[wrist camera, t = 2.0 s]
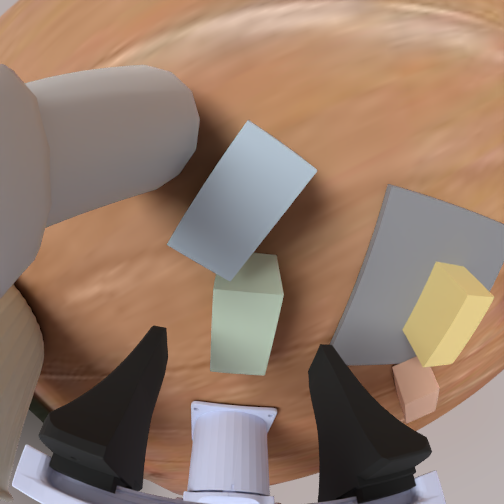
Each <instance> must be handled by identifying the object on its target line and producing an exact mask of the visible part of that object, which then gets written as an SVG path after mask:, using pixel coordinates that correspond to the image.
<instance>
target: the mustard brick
mask: <svg viewBox="0 0 504 504" xmlns="http://www.w3.org/2000/svg"><path fill="white" fill-rule="evenodd" d="M493 299H494V296H493V295H492V294H491V293H490V292H489V291H488V290H487V289H486V288H485V287H484V286H483V285H482V284H481V283H480V282H479V281H478V280H477V279H476V278H475V277H474V276H473V275H472V274H471V273H470V272H469V271H468V270H467V269H466V268H465V267H464V266H458V265H453V264H447V263H442V262H436V263H435V265H434V267H433V270H432V272H431V274H430V276H429V278H428V281H427V283H426V285H425V287H424V289H423V291H422V293H421V295H420V297H419V299H418V301H417V303H416V305H415V307H414V309H413V311H412V313H411V315H410V317H409V318H408V320H407V322H406V324H405V326H404V328H403V329H402V330H403V332H404V334H405V335H406V337H407V339H408V341H409V343H410V344H411V346H412V348H413V350H414V352H415V354H416V355H417V357H418V359H419V361H420V363H421V365H422V367H431V366H439V365H447V364H452V363H453V362H454V361H455V359H456V358H457V356H458V355H459V354H460V352H461V351H462V349H463V348H464V346H465V345H466V344H467V342H468V341H469V339H470V338H471V336H472V334H473V333H474V331H475V330H476V328H477V327H478V325H479V323H480V322H481V320H482V318H483V317H484V315H485V313H486V312H487V310H488V308H489V306H490V304H491V303H492V301H493Z"/></svg>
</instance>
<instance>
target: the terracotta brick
mask: <svg viewBox="0 0 504 504" xmlns="http://www.w3.org/2000/svg"><path fill="white" fill-rule="evenodd" d="M392 369H393V374H394V380H395V386H396V392H397V395H398V398H399V401H400V405H401V408H402V411H403V415H404V418H405V421H406V423H409V422H411V421H413V420H416V419H418V418H420V417H422V416H425V415H427V414H429V413H431V412H433V411H435V409H436V405H437V400H438V395H439V390H440V388H439V386H438V383H437V381H436V378H435V376H434V373H433V371H432V369H431V367H422V365H421V363H420V361H419V359H418V357H417V356H416V357H414V358H411V359H409V360H407V361H405V362H402V363H400V364H398V365H396V366H393V367H392Z"/></svg>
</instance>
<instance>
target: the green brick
mask: <svg viewBox="0 0 504 504" xmlns="http://www.w3.org/2000/svg"><path fill="white" fill-rule="evenodd" d="M283 296H284V293H283V288H282V282H281V277H280V271H279V266H278V261H277V255H271V254H261V253H252V255H251V256H250V257H249V259H248V260H247V261H246V262H245V264H244V265H243V266H242V267H241V269H240V270H239V271H238V273H237V274H236V275H235V276H234V278H233V279H232V280H231V281H228V280H226V279H224V278H223V277H221V276H219V275H217V274H216V277H215V283H214V288H213V307H212V331H211V360H210V371H212V372H222V373H234V374H248V375H265V372H266V368H267V364H268V360H269V356H270V352H271V348H272V344H273V340H274V336H275V331H276V327H277V323H278V319H279V314H280V310H281V305H282V301H283Z"/></svg>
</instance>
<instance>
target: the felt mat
mask: <svg viewBox="0 0 504 504" xmlns="http://www.w3.org/2000/svg"><path fill="white" fill-rule="evenodd" d="M436 262H442V263H447V264H453V265H458V266H464V267H465V268H466V269H467V270H468V271H469V272H470V273H471V274H472V275H473V276H474V277H475V278H476V279H477V280H478V281H479V282H480V283H481V284H482V285H483V286H484V287H485V288H486V289H487V290H488V291H489V292H490V290H491V288H492V286H493V284H494V282H495V280H496V278H497V275H498V273H499V271H500V269H501V267H502V265H503V262H504V224H502V223H500V222H497V221H495V220H493V219H490V218H488V217H485V216H483V215H480V214H478V213H475V212H473V211H470V210H467V209H465V208H462V207H459V206H456V205H453V204H451V203H448V202H445V201H442V200H439V199H436V198H433V197H430V196H427V195H424V194H421V193H417V192H414V191H411V190H408V189H404V188H401V187H397V186H394V185H390V184H388V186H387V189H386V193H385V197H384V200H383V204H382V207H381V210H380V214H379V217H378V220H377V223H376V226H375V230H374V233H373V236H372V239H371V242H370V245H369V248H368V250H367V253H366V256H365V259H364V262H363V265H362V267H361V270H360V273H359V275H358V278H357V281H356V283H355V286H354V288H353V291H352V293H351V296H350V298H349V301H348V303H347V306H346V308H345V311H344V313H343V315H342V318H341V320H340V322H339V325H338V327H337V329H336V331H335V334H334V336H333V338H332V340H331V343H330V345H333V347H334V348H335V350H336V351H337V352H338V354H339V355H340V357H341V358H342V359H343V361H344V362H345V364H346V365H383V364H400V363H402V362H405V361H407V360H409V359H411V358H414V357H416V356H417V355H416V354H415V352H414V350H413V348H412V346H411V344H410V343H409V341H408V339H407V337H406V335H405V334H404V332H403V330H402V329H403V328H404V326H405V324H406V322H407V320H408V318H409V317H410V315H411V313H412V311H413V309H414V307H415V305H416V303H417V301H418V299H419V297H420V295H421V293H422V291H423V289H424V287H425V285H426V283H427V281H428V278H429V276H430V274H431V272H432V270H433V267H434V265H435V263H436Z"/></svg>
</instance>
